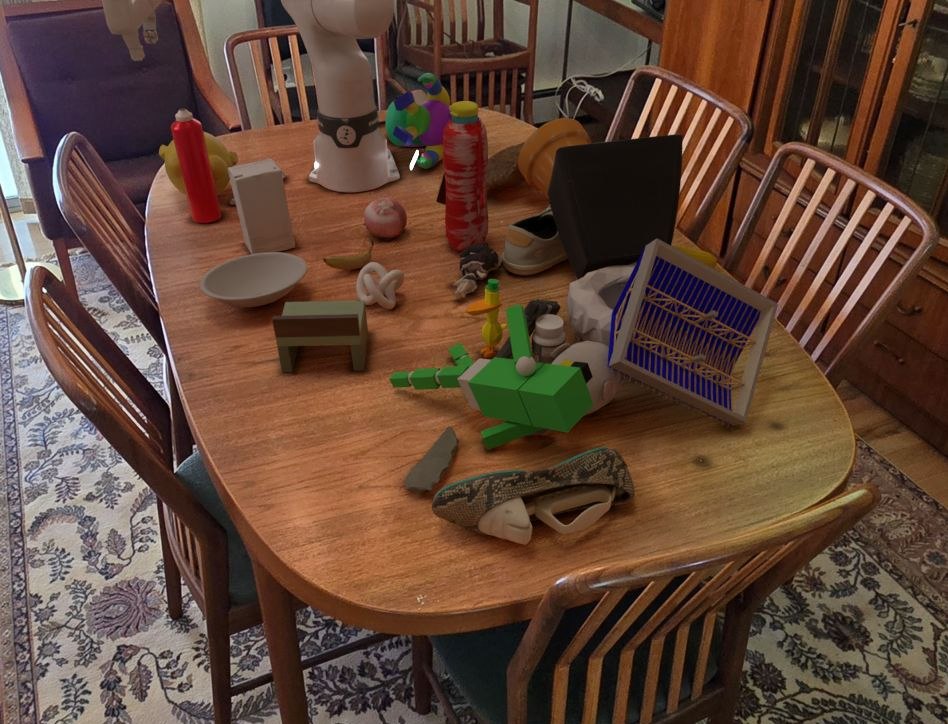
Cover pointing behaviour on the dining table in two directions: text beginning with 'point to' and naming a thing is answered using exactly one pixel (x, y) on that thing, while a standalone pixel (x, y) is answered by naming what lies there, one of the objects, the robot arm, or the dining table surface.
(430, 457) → the stone
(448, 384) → the toy
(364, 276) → the knot
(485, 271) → the figurine
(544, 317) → the pill bottle
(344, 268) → the banana
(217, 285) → the dish
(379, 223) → the onion
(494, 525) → the ballet flat
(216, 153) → the sculpture
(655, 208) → the flower pot
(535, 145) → the flower pot
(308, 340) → the shelf
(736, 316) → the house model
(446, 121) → the figurine
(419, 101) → the ice cream cone
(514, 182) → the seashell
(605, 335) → the bowl
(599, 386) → the toy
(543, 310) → the handgun
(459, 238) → the water bottle
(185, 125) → the bottle
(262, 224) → the cosmetic box
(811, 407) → the dining table surface
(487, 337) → the toy figure
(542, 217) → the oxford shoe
